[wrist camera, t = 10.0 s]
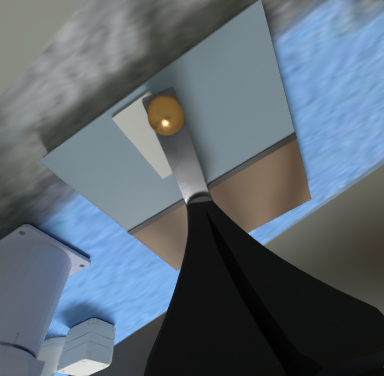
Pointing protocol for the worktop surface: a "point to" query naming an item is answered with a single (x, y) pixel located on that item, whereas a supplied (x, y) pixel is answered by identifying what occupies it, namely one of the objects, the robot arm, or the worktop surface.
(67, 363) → the container set
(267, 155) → the jamb board
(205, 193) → the lock bar
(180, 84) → the door leaf
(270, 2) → the worktop surface
